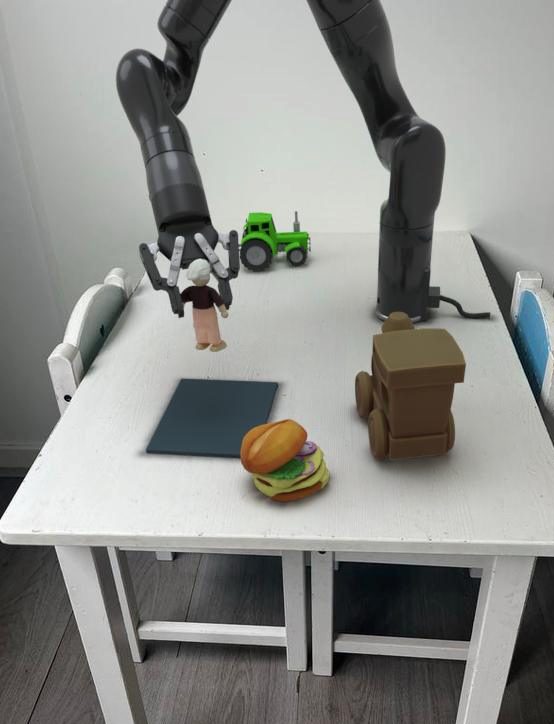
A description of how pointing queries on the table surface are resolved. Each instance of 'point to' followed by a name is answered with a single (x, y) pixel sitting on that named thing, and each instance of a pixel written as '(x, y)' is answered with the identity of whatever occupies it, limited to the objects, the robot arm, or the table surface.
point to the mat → (212, 417)
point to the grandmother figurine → (204, 306)
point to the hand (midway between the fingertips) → (204, 311)
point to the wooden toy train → (410, 390)
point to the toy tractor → (271, 242)
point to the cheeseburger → (283, 461)
